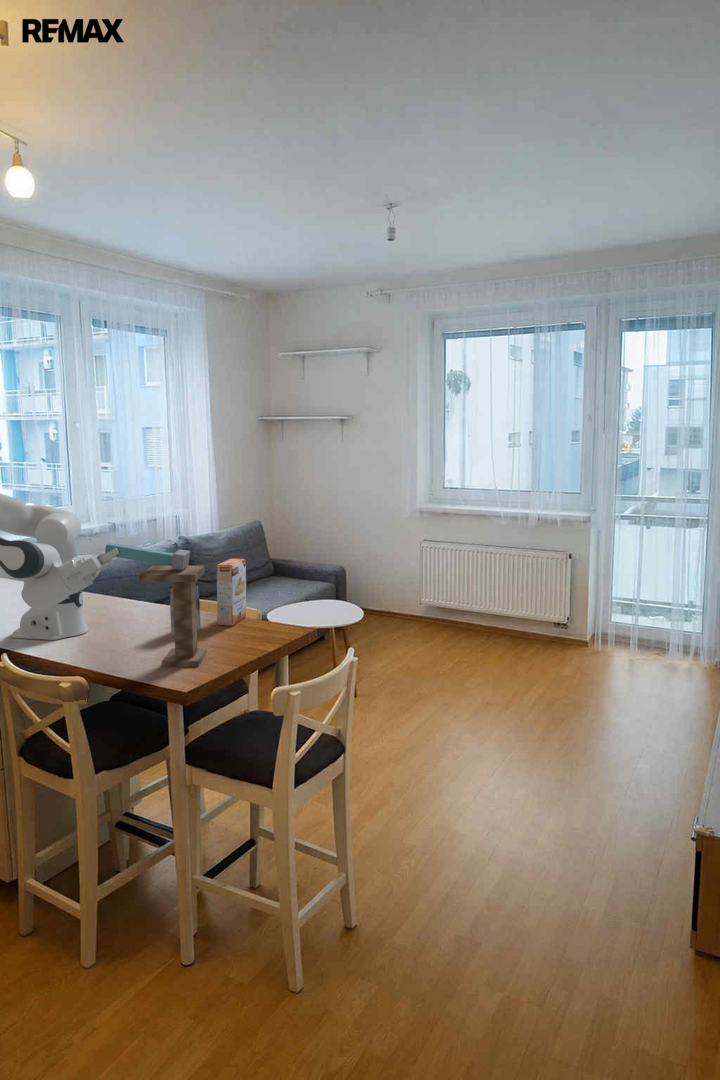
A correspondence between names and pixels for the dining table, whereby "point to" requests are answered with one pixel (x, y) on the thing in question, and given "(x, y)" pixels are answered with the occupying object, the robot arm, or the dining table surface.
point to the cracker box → (231, 591)
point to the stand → (181, 612)
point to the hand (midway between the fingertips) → (120, 548)
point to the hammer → (152, 555)
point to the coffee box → (196, 608)
